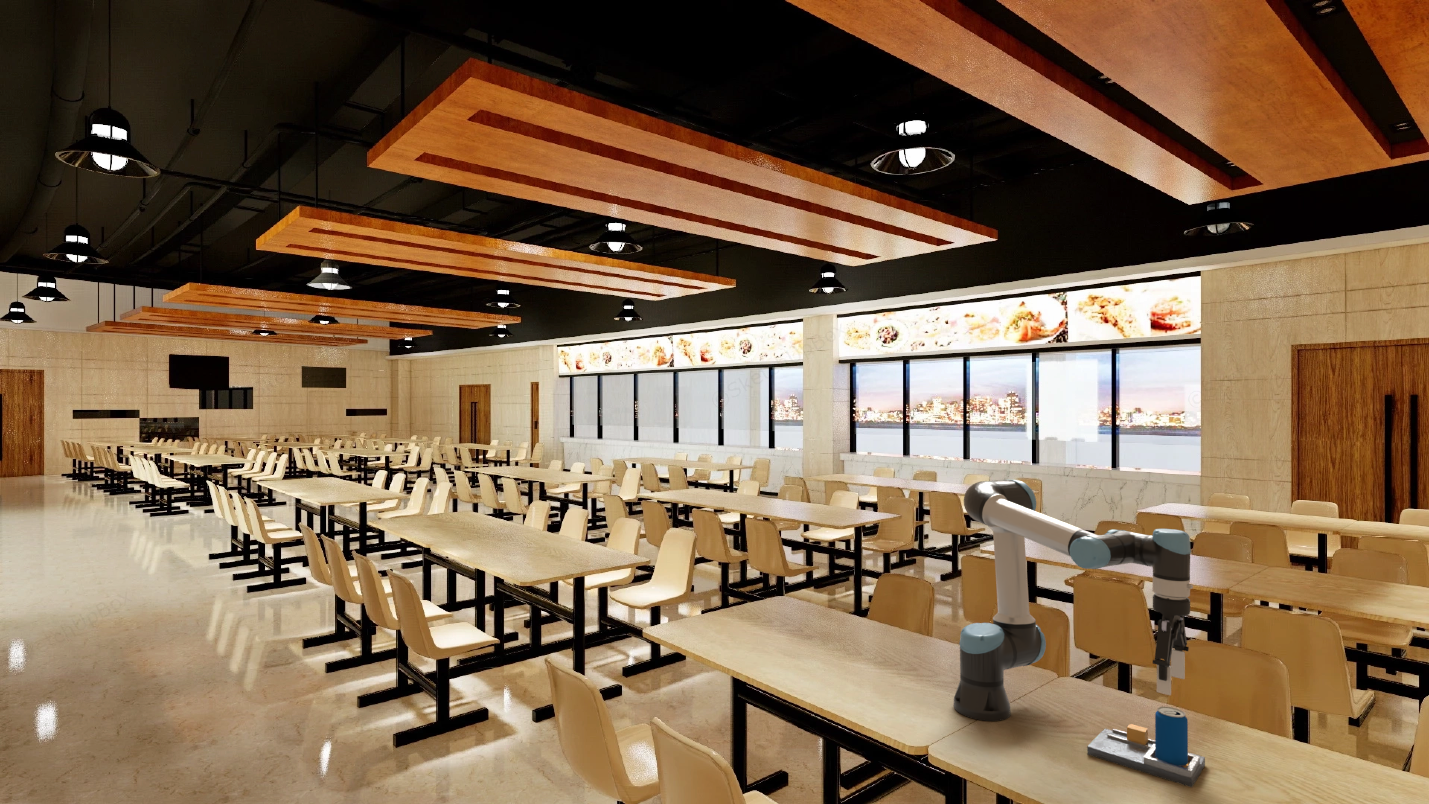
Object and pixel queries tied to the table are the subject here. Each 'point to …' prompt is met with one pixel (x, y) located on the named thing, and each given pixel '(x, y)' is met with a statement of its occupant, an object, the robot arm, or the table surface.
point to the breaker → (1137, 734)
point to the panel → (1143, 757)
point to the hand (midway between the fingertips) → (1171, 685)
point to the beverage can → (1171, 736)
